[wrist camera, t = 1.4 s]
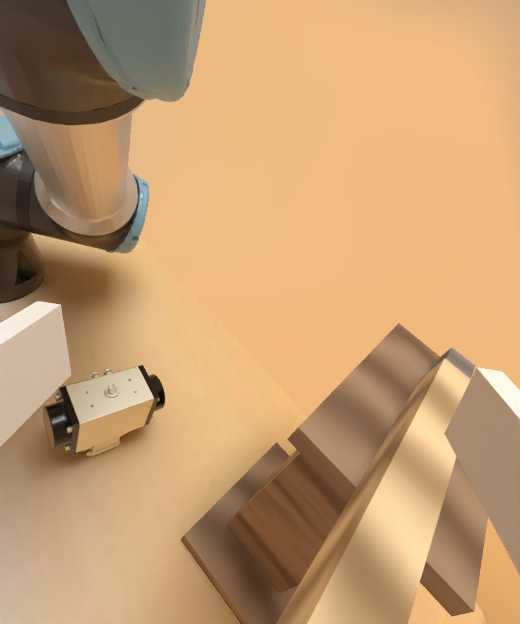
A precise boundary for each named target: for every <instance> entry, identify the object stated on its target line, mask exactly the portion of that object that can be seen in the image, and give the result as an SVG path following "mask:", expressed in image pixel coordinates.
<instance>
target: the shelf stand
mask: <svg viewBox="0 0 520 624" xmlns="http://www.w3.org/2000/svg"><path fill="white" fill-rule="evenodd" d="M439 358H440V356H438V355H437V354H436V353H435V352H433V351H432V350H431V349H430V348H429V347H427V346H426V345H425V344H424V343H422V342H421V341H420V340H419V339H417V338H416V337H415V336H414V335H412V334H411V333H410V332H409V331H408V330H406V329H405V328H404V327H403V326H402V325H400V324H398V325H397V326H396V327H395V328H394V329H393V330H392V331H391V332H390V333H389V334H388V335H387V336H386V337H385V338H384V339H383V340H382V341H381V342H380V343H379V344H378V345H377V346H376V347H375V348H374V350H373V351H372V352H371V353H370V354H369V355H368V356H367V357H366V358H365V359H364V360H363V361H362V362H361V363H360V364H359V365H358V366H357V367H356V368H355V369H354V370H353V371H352V372H351V373H350V374H349V376H347V378H346V379H345V380H344V381H343V382H342V383H341V384H340V385H339V386H338V387H337V388H336V389H335V390H334V391H333V392H332V393H331V394H330V395H329V396H328V397H327V398H326V399H325V400H324V401H323V402H322V403H321V404H320V406H319V407H318V408H317V409H316V410H315V411H314V412H313V413H312V414H311V415H310V416H309V417H308V418H307V419H306V420H305V421H304V422H303V423H302V424H301V425H300V426H299V427H298V428H297V429H296V430H295V432H294V433H293V434H292V435H291V436H290V437H289V438H288V440H289V441H290V442H291V443H292V445H293V446H294V447H295V448H296V449H297V450H296V451H295V452H294V453H293V454H292V455H291V456H289V455H288V454H287V453H286V452H285V451H284V450H283V449H282V448H281V447H280V446H279V444H278V443H276V444H275V445H274V446H273V447H272V448H271V449H270V450H269V451H268V452H267V453H266V454H265V455H264V456H263V457H262V458H261V459H260V460H259V461H258V462H257V463H256V464H255V465H254V466H253V467H252V468H251V469H250V470H249V471H248V472H247V473H246V474H245V475H244V476H243V477H242V478H241V479H240V480H239V481H238V482H237V483H236V484H235V485H234V486H233V487H232V488H231V489H230V490H229V491H228V492H227V493H226V494H225V495H224V496H223V497H222V498H221V499H220V500H219V501H218V502H217V503H216V504H215V505H214V506H213V507H212V508H211V509H210V510H209V511H208V512H207V513H206V514H205V515H204V516H203V517H202V518H201V519H200V520H199V521H198V522H197V523H196V524H195V525H194V526H193V527H192V528H191V529H190V530H189V531H188V532H187V533H186V534H185V535H184V537H183V538H182V539H181V540H182V542H183V543H184V544H185V546H186V547H187V549H188V550H189V551H190V553H191V554H192V556H193V557H194V558H195V560H196V561H197V563H198V564H199V565H200V567H201V568H202V570H203V571H204V572H205V574H206V575H207V576H208V578H209V579H210V581H211V582H212V583H213V585H214V586H215V588H216V589H217V590H218V592H219V593H220V595H221V596H222V597H223V599H224V600H225V602H226V603H227V604H228V606H229V607H230V609H231V610H232V611H233V613H234V614H235V616H236V617H237V618H238V620H239V621H240V623H241V624H276V623H277V622H278V620H279V618H280V617H281V615H282V613H283V612H284V610H285V608H286V606H287V605H288V603H289V601H290V600H291V598H292V596H293V595H294V593H295V591H296V589H297V588H298V586H299V584H300V583H301V581H302V579H303V578H304V576H305V574H306V572H307V571H308V569H309V567H310V566H311V564H312V562H313V561H314V559H315V557H316V555H317V554H318V552H319V550H320V549H321V547H322V545H323V544H324V542H325V540H326V538H327V537H328V535H329V533H330V532H331V530H332V528H333V527H334V525H335V523H336V521H337V520H338V518H339V516H340V515H341V513H342V511H343V510H344V508H345V506H346V504H347V503H348V501H349V499H350V498H351V496H352V494H353V493H354V491H355V489H356V487H357V486H358V484H359V482H360V481H361V479H362V477H363V476H364V474H365V472H366V470H367V469H368V467H369V465H370V464H371V462H372V460H373V459H374V457H375V455H376V453H377V452H378V450H379V448H380V447H381V445H382V443H383V442H384V440H385V438H386V436H387V435H388V433H389V431H390V430H391V428H392V426H393V425H394V423H395V421H396V419H397V418H398V416H399V414H400V413H401V411H402V409H403V408H404V406H405V404H406V402H407V401H408V399H409V397H410V396H411V394H412V392H413V391H414V389H415V387H416V385H417V384H418V382H419V380H420V379H421V378H422V377H423V376H425V375H426V374H427V373H428V372H429V370H430V368H431V367H432V365H433V363H434V362H436V361H437V360H438V359H439ZM487 520H488V515H487V513H486V511H485V509H484V507H483V505H482V504H481V502H480V500H479V498H478V496H477V494H476V492H475V490H474V488H473V487H472V485H471V483H470V481H469V479H468V477H467V475H466V473H465V471H464V470H463V468H462V466H461V464H460V462H459V460H458V458H457V456H456V460H455V463H454V467H453V470H452V474H451V477H450V480H449V484H448V487H447V491H446V494H445V497H444V501H443V504H442V508H441V511H440V514H439V518H438V521H437V525H436V528H435V532H434V535H433V538H432V542H431V545H430V549H429V552H428V555H427V559H426V562H425V566H424V569H423V573H422V576H421V579H420V583H421V584H422V585H423V586H424V587H425V588H426V589H427V590H428V591H429V592H430V593H431V594H432V596H433V597H434V598H435V599H436V600H437V601H438V602H439V603H440V604H441V605H442V606H443V607H444V609H445V610H446V611H447V612H448V613H449V614H450V615H451V616H456V615H460V614H465V613H470V612H474V608H475V602H476V594H477V588H478V581H479V574H480V567H481V561H482V554H483V547H484V540H485V533H486V526H487Z"/></svg>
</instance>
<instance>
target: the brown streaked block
mask: <svg viewBox="0 0 520 624" xmlns="http://www.w3.org/2000/svg"><path fill="white" fill-rule="evenodd" d="M474 368H475V365H473V364H472V363H471V362H470V361H469V360H467V359H466V358H465V357H463V356H462V355H461V354H460V353H458V352H457V351H456V350H455V349H453V348H451V349H449V350H448V351H447V352H446V353H445V354H444V355H442V356H441V357H440V358H439V359H438V360H437V361H436V362H434V363H433V365H432V367H431V368H430V370H429V372H428V373H427V374H426V375H425V376H423V377H422V378H421V379H420V380H419V382H418V384H417V385H416V387H415V389H414V391H413V392H412V394H411V396H410V397H409V399H408V401H407V402H406V404H405V406H404V408H403V409H402V411H401V413H400V414H399V416H398V418H397V419H396V421H395V423H394V425H393V426H392V428H391V430H390V431H389V433H388V435H387V436H386V438H385V440H384V442H383V443H382V445H381V447H380V448H379V450H378V452H377V453H376V455H375V457H374V459H373V460H372V462H371V464H370V465H369V467H368V469H367V470H366V472H365V474H364V476H363V477H362V479H361V481H360V482H359V484H358V486H357V487H356V489H355V491H354V493H353V494H352V496H351V498H350V499H349V501H348V503H347V504H346V506H345V508H344V510H343V511H342V513H341V515H340V516H339V518H338V520H337V521H336V523H335V525H334V527H333V528H332V530H331V532H330V533H329V535H328V537H327V538H326V540H325V542H324V544H323V545H322V547H321V549H320V550H319V552H318V554H317V555H316V557H315V559H314V561H313V562H312V564H311V566H310V567H309V569H308V571H307V572H306V574H305V576H304V578H303V579H302V581H301V583H300V584H299V586H298V588H297V589H296V591H295V593H294V595H293V596H292V598H291V600H290V601H289V603H288V605H287V606H286V608H285V610H284V612H283V613H282V615H281V617H280V618H279V620H278V622H277V623H276V624H408V620H409V617H410V613H411V610H412V607H413V603H414V600H415V596H416V593H417V590H418V586H419V583H420V579H421V576H422V573H423V569H424V566H425V562H426V559H427V555H428V552H429V549H430V545H431V542H432V538H433V535H434V532H435V528H436V525H437V521H438V518H439V514H440V511H441V508H442V504H443V501H444V497H445V494H446V491H447V487H448V484H449V480H450V477H451V474H452V470H453V467H454V463H455V460H456V455H455V453H454V451H453V449H452V447H451V445H450V443H449V441H448V439H447V438H446V436H445V434H444V433H445V431H446V429H447V427H448V425H449V423H450V421H451V419H452V417H453V415H454V413H455V411H456V409H457V407H458V405H459V403H460V401H461V399H462V397H463V394H464V392H465V390H466V388H467V386H468V384H469V382H470V380H471V377H472V373H473V371H474Z"/></svg>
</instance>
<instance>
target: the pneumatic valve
mask: <svg viewBox="0 0 520 624" xmlns="http://www.w3.org/2000/svg"><path fill="white" fill-rule="evenodd" d="M104 374H105V375H104V376H101V377H100V376H99V373H98V372H93V373H92V374H91V377H92V379H90V380H86V381H82V382H79V383H75V384H71V385H67V386H64V387H60V388H59V393H57V395H56V396H55V398H56V403H54V404H50V405H47V406H44V407H43V418H44V424H45V428H46V432H47V436H48V439H49V442H50V444H51V446H52V448H54V449H55V448H58V447H60V446H63V445H65V450H66V451H68V453H69V455H72V454H74V453H77V452H79V451H85V450H88V449H89V451H87V453H86V456H95V455H97V454H100V453H102V452H104V451H107V450H109V449H112V448H114V447H116V446H118V445H119V443H120V437H121V436H123V435H125V434H126V433H127V432H130V431H132V430H135V429H137V428H140V427H142V426H145V425H147V424H149V422H150V419H151V418H152V417H153V416H152V414H153V412H154V411H157V410H159V409H162V408H163V407H164V404H165V394H164V389H163V386H162V384H161V382H160V380H159V379H158V377H157V376H156V375H153V374H152V375H148V374H147V372H146V370H145V368H144V366H143V365H141V366H138V367H134V368H130V369H127V370H123V371H119V372H115V373H112V371H111V369H110V368H107V369H105V370H104Z"/></svg>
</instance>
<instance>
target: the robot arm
mask: <svg viewBox="0 0 520 624" xmlns="http://www.w3.org/2000/svg"><path fill="white" fill-rule="evenodd" d="M205 4H206V0H0V109H2V111H3V112H4V114H5V116H3V115H0V303H1V302H7V301H11V300H15V299H18V298H21V297H23V296H25V295H27V294H29V293H31V292H32V291H34V290H35V289H36V288H37V287H38V286H39V285H40V284H41V282H42V280H43V276H44V262H43V258H42V256H41V254H40V251H39V249H38V247H37V245H36V243H35V240H34V238H33V236H32V234H31V233H34V234H39V235H44V236H48V237H52V238H56V239H60V240H65V241H69V242H73V243H77V244H81V245H86V246H90V247H94V248H98V249H102V250H106V251H107V252H111V253H113V252H118V253H129V252H131V251H132V250H133V249H134V248H135V246H136V244H137V242H138V239H139V236H140V234H141V231H142V228H143V225H144V221H145V216H146V212H147V207H148V200H149V187H148V184H147V182H146V181H145V180H143V179H141V178H139V177H138V176H136V175H134V174H132V172H131V171H130V169H129V167H128V158H129V145H130V133H131V120H132V112H133V111H135V110H136V109H138V108H139V107H140V106H141V105H142V104H143V103H144V102H145V101H146V100H150V99H155V98H156V99H159V100H162V101H167V102H174V101H177V100H179V99H180V98H181V97H183V96H184V93H185V91H186V90H187V88H188V86H189V82H190V79H191V76H192V72H193V65H194V61H195V57H196V52H197V48H198V42H199V37H200V31H201V26H202V20H203V15H204V8H205ZM71 375H72V374H71V367H70V361H69V354H68V347H67V341H66V334H65V328H64V321H63V315H62V308H61V304H54V303H47V302H41V301H37V302H35V303H33V304H32V305H30V306H28V307H27V308H25V309H23V310H21V311H20V312H18V313H16V314H15V315H13V316H11V317H10V318H8V319H6V320H4V321H3V322H1V323H0V447H1V446H2V445H3V444H4V443H5V442H6V441H7V440H8V439H9V438H10V437H11V436H12V435H13V434H14V433H15V432H16V431H17V429H18V428H19V427H20V426H21V425H22V424H23V423H24V422H25V421H26V420H27V419H28V418H29V417H30V416H31V415H32V414H33V413H34V412H35V411H36V410H37V409H38V408H39V407H40V406H41V405H42V404H43V403H44V402H45V401H46V400H47V399H48V398H49V397H50V396H51V395H52V394H53V393H54V392H55V391H56V390H57V389H58V388H59V387H60V386H61V385H62V384H63V383H64V382H65V381H66V380H67V379H68V378H69V377H70V376H71ZM444 434H445V436H446V438H447V439H448V441H449V443H450V445H451V447H452V449H453V451H454V453H455V455H456V456H457V458H458V460H459V462H460V464H461V466H462V468H463V470H464V471H465V473H466V475H467V477H468V479H469V481H470V483H471V485H472V487H473V488H474V490H475V492H476V494H477V496H478V498H479V500H480V502H481V504H482V505H483V507H484V509H485V511H486V513H487V515H488V517H489V518H490V521H491V522H492V524H493V526H494V528H495V530H496V532H497V534H498V535H499V537H500V539H501V541H502V543H503V545H504V547H505V548H506V551H507V553H508V554H509V556H510V558H511V560H512V562H513V564H514V566H515V568H516V570H517V571H518V573H519V575H520V390H519V389H518V388H517V387H516V386H515V385H514V384H513V383H512V382H511V381H510V380H509V379H508V377H507V376H506V375H505V374H504V373H503V372H501V371H495V370H489V369H482V368H476V370H475V372H474V374H473V376H472V378H471V380H470V382H469V384H468V386H467V388H466V390H465V392H464V394H463V397H462V399H461V401H460V403H459V405H458V407H457V409H456V411H455V413H454V415H453V417H452V419H451V421H450V423H449V425H448V427H447V429H446V431H445V433H444Z"/></svg>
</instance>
